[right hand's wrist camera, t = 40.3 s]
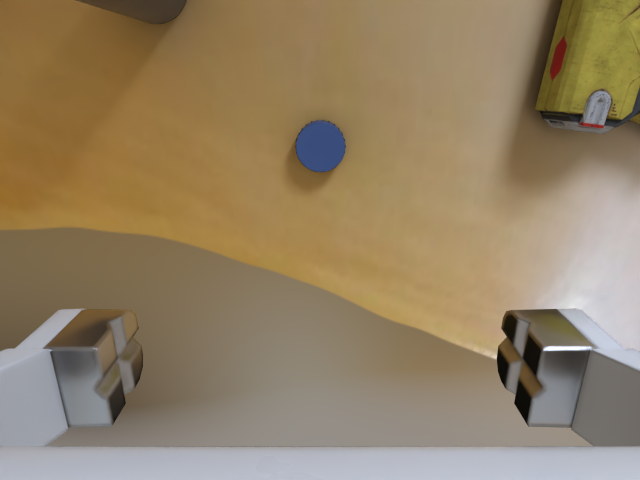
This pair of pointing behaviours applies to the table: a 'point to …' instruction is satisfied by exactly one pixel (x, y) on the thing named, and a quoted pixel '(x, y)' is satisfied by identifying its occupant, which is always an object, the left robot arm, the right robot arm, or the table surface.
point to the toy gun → (593, 67)
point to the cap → (320, 146)
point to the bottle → (142, 8)
